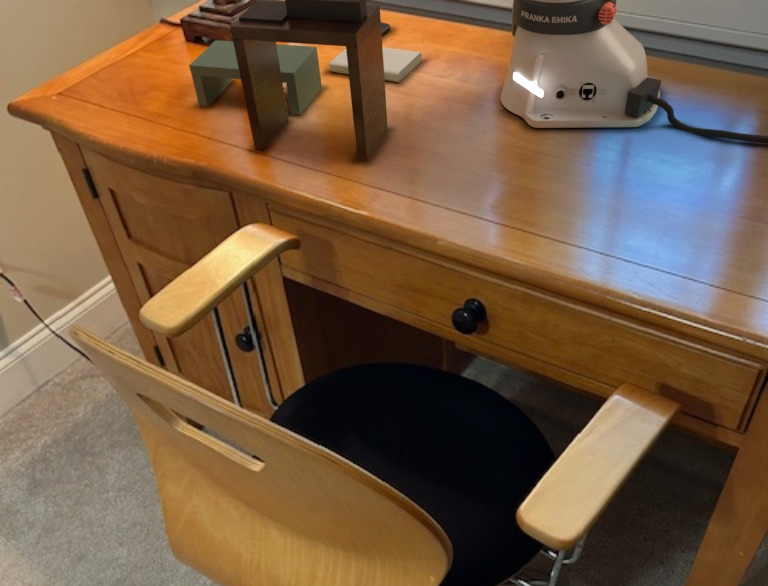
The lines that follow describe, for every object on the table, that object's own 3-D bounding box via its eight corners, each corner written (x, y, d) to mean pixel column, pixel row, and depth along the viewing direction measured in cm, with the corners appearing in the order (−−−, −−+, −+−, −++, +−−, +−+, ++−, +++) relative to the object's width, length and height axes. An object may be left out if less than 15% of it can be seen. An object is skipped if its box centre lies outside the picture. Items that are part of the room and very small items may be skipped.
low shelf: (322, 88, 123) (316, 46, 118) (300, 115, 118) (293, 73, 113) (224, 80, 127) (215, 40, 122) (199, 106, 122) (188, 65, 117)
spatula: (371, 10, 100) (370, -10, 98) (357, 27, 96) (355, 7, 95) (256, 4, 104) (253, -15, 102) (239, 21, 100) (235, 1, 99)
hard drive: (398, 84, 122) (329, 72, 126) (422, 62, 126) (354, 51, 130) (398, 73, 121) (328, 61, 125) (421, 51, 125) (353, 41, 129)
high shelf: (388, 130, 113) (379, 4, 100) (367, 161, 108) (356, 34, 95) (279, 120, 117) (258, -2, 105) (254, 150, 112) (229, 26, 100)
